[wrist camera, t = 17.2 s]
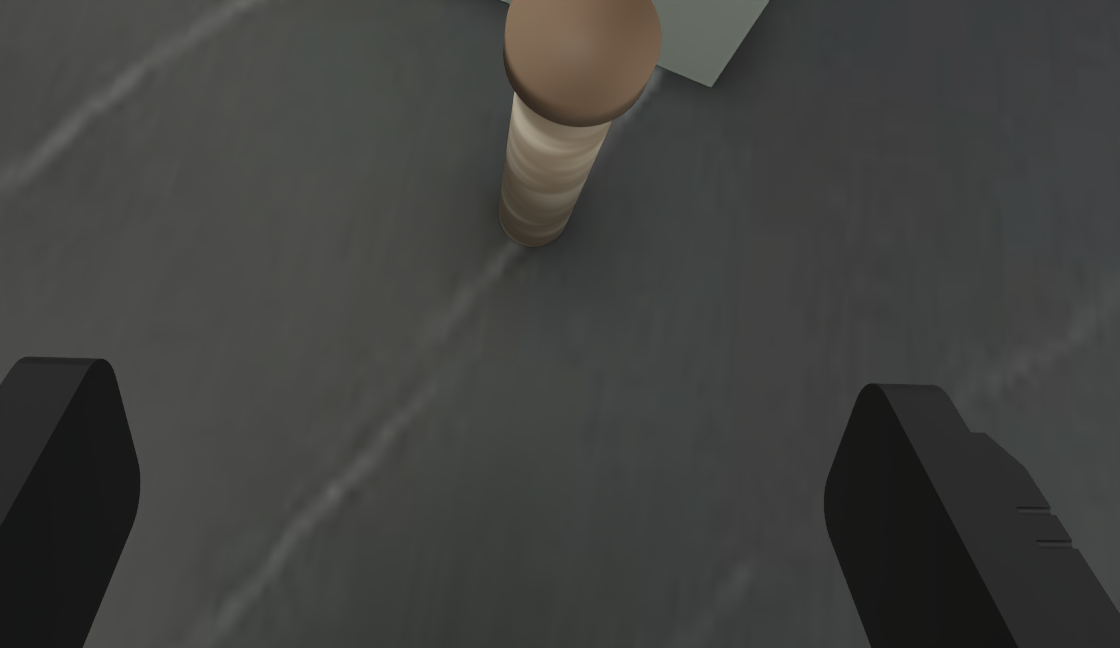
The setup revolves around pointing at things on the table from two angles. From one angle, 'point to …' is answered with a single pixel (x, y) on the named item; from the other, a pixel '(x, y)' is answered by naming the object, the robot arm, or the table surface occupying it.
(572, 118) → the beige long cylinder
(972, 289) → the table surface
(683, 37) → the toolbox
